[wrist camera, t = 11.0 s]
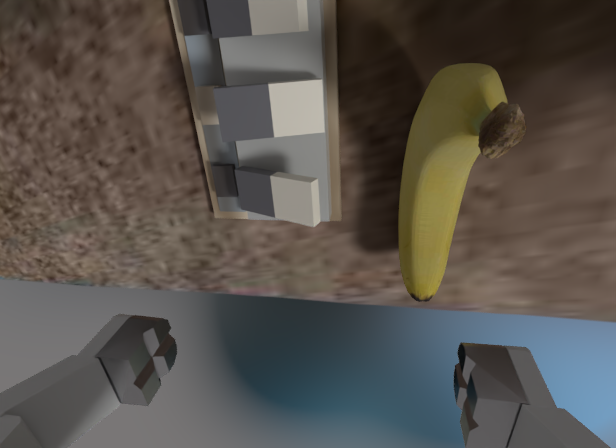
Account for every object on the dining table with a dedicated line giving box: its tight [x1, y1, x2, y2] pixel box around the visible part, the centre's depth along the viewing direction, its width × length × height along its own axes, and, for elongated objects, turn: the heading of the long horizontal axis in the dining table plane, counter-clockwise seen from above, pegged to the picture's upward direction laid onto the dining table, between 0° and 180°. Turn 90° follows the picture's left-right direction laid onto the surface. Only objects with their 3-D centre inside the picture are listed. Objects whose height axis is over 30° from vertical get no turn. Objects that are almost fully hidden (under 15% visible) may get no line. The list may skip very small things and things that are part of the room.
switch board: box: [169, 0, 342, 221], centre depth 35 cm, size 15×26×2 cm, turn 4°
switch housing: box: [219, 0, 332, 221], centre depth 34 cm, size 9×24×2 cm, turn 4°
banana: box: [398, 63, 526, 302], centre depth 28 cm, size 23×6×20 cm, turn 1°
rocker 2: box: [213, 78, 325, 142], centre depth 31 cm, size 9×4×2 cm, turn 94°
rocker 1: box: [206, 0, 309, 39], centre depth 28 cm, size 9×4×2 cm, turn 94°
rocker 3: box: [235, 166, 320, 227], centre depth 35 cm, size 9×4×2 cm, turn 94°
